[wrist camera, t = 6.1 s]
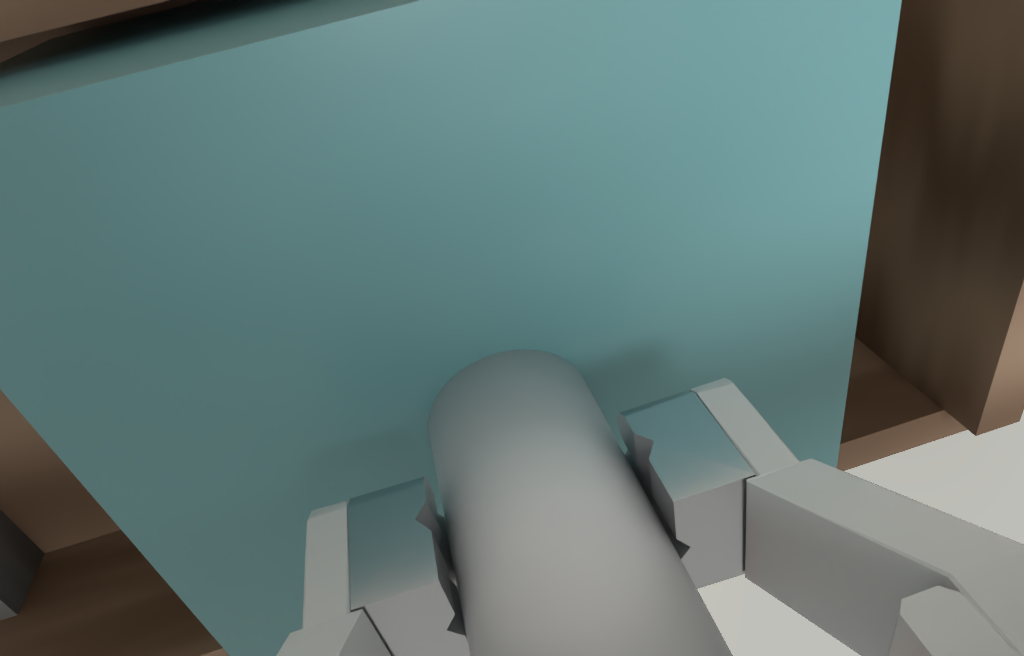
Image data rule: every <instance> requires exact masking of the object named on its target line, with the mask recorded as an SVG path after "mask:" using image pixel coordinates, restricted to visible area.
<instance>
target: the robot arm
mask: <svg viewBox="0 0 1024 656" xmlns="http://www.w3.org/2000/svg"><path fill="white" fill-rule="evenodd" d="M618 425H619V433H620V436H621V438H622V439H623V441H624V443H625V445H626V447H627V449H628V450H627V452H626V453H625V456H626V458H627V460H628V462H629V464H630V466H631V468H632V469H633V471H634V473H635V475H636V477H637V479H638V481H639V482H640V484H641V486H642V488H643V490H644V492H645V494H646V495H647V497H648V499H649V501H650V503H651V505H652V507H653V508H654V510H655V512H656V514H657V516H658V518H659V520H660V521H661V523H662V525H663V527H664V529H665V531H666V533H667V535H668V536H669V538H670V540H671V542H672V544H673V546H674V548H675V549H676V551H677V553H678V555H679V557H680V559H681V561H682V562H683V564H684V566H685V568H686V570H687V572H688V574H689V575H690V577H691V579H692V581H693V583H694V585H695V587H696V588H697V589H698V588H701V587H704V586H707V585H711V584H714V583H717V582H720V581H723V580H726V579H729V578H733V577H736V576H739V575H742V574H745V577H746V578H747V579H749V580H750V581H752V582H753V583H755V584H756V585H758V586H759V587H761V588H762V589H764V590H765V591H767V592H768V593H769V594H771V595H772V596H774V597H775V598H777V599H778V600H780V601H781V602H783V603H784V604H786V605H787V606H789V607H790V608H792V609H793V610H795V611H796V612H798V613H799V614H801V615H802V616H804V617H805V618H806V619H808V620H809V621H811V622H812V623H814V624H815V625H817V626H818V627H820V628H821V629H823V630H824V631H826V632H827V633H829V634H831V635H832V636H833V637H835V638H836V639H837V640H839V641H840V642H842V643H843V644H845V645H847V646H848V647H849V648H851V649H853V650H854V651H855V652H857V653H858V654H860V655H861V656H1024V544H1021V543H1019V542H1016V541H1013V540H1011V539H1009V538H1006V537H1004V536H1001V535H999V534H996V533H994V532H992V531H989V530H987V529H984V528H982V527H979V526H977V525H974V524H972V523H969V522H967V521H965V520H962V519H960V518H957V517H955V516H952V515H950V514H947V513H945V512H942V511H940V510H938V509H935V508H932V507H930V506H928V505H925V504H923V503H920V502H918V501H915V500H913V499H910V498H908V497H906V496H903V495H901V494H898V493H896V492H893V491H891V490H888V489H886V488H883V487H881V486H879V485H876V484H874V483H871V482H869V481H866V480H863V479H861V478H859V477H857V476H854V475H851V474H849V473H847V472H844V471H842V470H839V469H837V468H834V467H832V466H829V465H827V464H825V463H822V462H820V461H817V460H815V459H812V458H810V459H807V460H804V461H799V460H798V458H797V457H796V456H795V455H794V454H793V453H792V451H791V450H790V449H789V448H788V447H787V445H786V444H785V443H784V442H783V441H782V440H781V438H780V437H779V436H778V435H777V434H776V432H775V431H774V430H773V429H772V428H771V427H770V425H769V424H768V423H767V422H766V421H765V419H764V418H763V417H762V416H761V415H760V414H759V412H758V411H757V410H756V409H755V408H754V406H753V405H752V404H751V403H750V402H749V401H748V399H747V398H746V397H745V396H744V395H743V394H742V392H741V391H740V390H739V389H738V388H737V386H736V385H735V384H734V383H733V382H732V381H731V380H729V379H726V378H722V379H719V380H716V381H713V382H710V383H707V384H704V385H701V386H698V387H695V388H692V389H690V390H689V391H683V392H680V393H677V394H674V395H671V396H668V397H665V398H662V399H659V400H656V401H653V402H650V403H647V404H644V405H641V406H638V407H635V408H632V409H629V410H626V411H623V412H620V413H619V415H618ZM276 656H470V651H469V646H468V640H467V635H466V630H465V624H464V619H463V614H462V608H461V603H460V598H459V592H458V587H457V582H456V577H455V571H454V566H453V561H452V555H451V550H450V545H449V539H448V534H447V529H446V523H445V519H444V517H443V516H442V515H440V514H438V513H437V507H436V502H435V496H434V493H433V491H432V489H431V486H430V484H429V482H428V480H427V478H426V477H421V478H418V479H414V480H411V481H407V482H404V483H401V484H397V485H394V486H391V487H387V488H384V489H380V490H377V491H374V492H370V493H367V494H364V495H360V496H357V497H353V498H350V500H346V501H343V502H339V503H336V504H333V505H329V506H326V507H322V508H319V509H316V510H312V511H311V513H310V515H309V518H308V520H307V525H306V550H305V575H304V599H303V624H302V629H300V630H297V631H294V632H292V633H290V634H289V636H288V637H287V639H286V641H285V642H284V644H283V645H282V647H281V649H280V650H279V652H278V654H277V655H276Z"/></svg>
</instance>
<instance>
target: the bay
mask: <svg viewBox="0 0 1024 656" xmlns="http://www.w3.org/2000/svg"><path fill="white" fill-rule="evenodd" d="M200 1H204V0H0V63H1V62H3V61H5V60H7V59H10V58H12V57H14V56H16V55H18V54H20V53H22V52H24V51H26V50H28V49H30V48H33V47H35V46H37V45H39V44H41V43H43V42H45V41H47V40H49V39H51V38H55V37H59V36H63V35H67V34H71V33H75V32H79V31H83V30H87V29H91V28H95V27H99V26H103V25H107V24H111V23H115V22H119V21H123V20H127V19H131V18H135V17H139V16H143V15H147V14H151V13H155V12H159V11H163V10H168V9H172V8H176V7H180V6H184V5H188V4H192V3H196V2H200ZM1023 410H1024V0H902V3H901V10H900V17H899V24H898V31H897V38H896V46H895V53H894V60H893V67H892V74H891V82H890V89H889V96H888V103H887V110H886V118H885V125H884V132H883V139H882V146H881V153H880V161H879V168H878V175H877V182H876V189H875V197H874V204H873V211H872V218H871V225H870V233H869V240H868V247H867V254H866V261H865V268H864V276H863V283H862V290H861V297H860V304H859V312H858V319H857V326H856V333H855V340H854V347H853V355H852V362H851V369H850V376H849V383H848V391H847V398H846V405H845V412H844V419H843V427H842V434H841V441H840V448H839V455H838V462H837V469H839V470H842V471H845V470H848V469H851V468H854V467H857V466H860V465H863V464H866V463H869V462H872V461H875V460H878V459H881V458H884V457H887V456H890V455H893V454H896V453H899V452H902V451H905V450H908V449H911V448H914V447H917V446H920V445H923V444H926V443H928V442H932V441H935V440H937V439H940V438H944V437H947V436H950V435H953V434H956V433H959V432H961V431H965V430H969V431H970V432H972V433H973V434H974V435H975V436H977V435H980V434H982V433H986V432H989V431H991V430H994V429H997V428H1000V427H1004V426H1007V425H1010V424H1013V423H1015V422H1018V421H1020V418H1021V415H1022V412H1023ZM0 656H229V654H228V653H227V652H226V651H225V650H224V649H223V647H222V646H221V645H220V644H219V643H218V642H217V640H216V639H215V638H214V637H213V636H212V635H211V633H210V632H209V631H208V630H207V629H206V628H205V626H204V625H203V624H202V623H201V622H200V621H199V619H198V618H197V617H196V616H195V615H194V614H193V613H192V611H191V610H190V609H189V608H188V607H187V606H186V604H185V603H184V602H183V601H182V600H181V599H180V597H179V596H178V595H177V594H176V593H175V592H174V590H173V589H172V588H171V587H170V586H169V585H168V583H167V582H166V581H165V580H164V579H163V578H162V577H161V575H160V574H159V573H158V572H157V571H156V570H155V568H154V567H153V566H152V565H151V564H150V563H149V561H148V560H147V559H146V558H145V557H144V556H143V554H142V553H141V552H140V551H139V550H138V549H137V547H136V546H135V545H134V544H133V543H132V542H131V540H130V539H129V538H128V537H127V536H126V535H125V534H124V532H123V531H122V530H121V529H120V528H119V527H118V525H117V524H116V523H115V522H114V521H113V520H112V518H111V517H110V516H109V515H108V514H107V513H106V511H105V510H104V509H103V508H102V507H101V506H100V504H99V503H98V502H97V501H96V500H95V499H94V497H93V496H92V495H91V494H90V493H89V492H88V491H87V489H86V488H85V487H84V486H83V485H82V484H81V482H80V481H79V480H78V479H77V478H76V477H75V475H74V474H73V473H72V472H71V471H70V470H69V468H68V467H67V466H66V465H65V464H64V463H63V461H62V460H61V459H60V458H59V457H58V456H57V454H56V453H55V452H54V451H53V450H52V449H51V448H50V446H49V445H48V444H47V443H46V442H45V441H44V439H43V438H42V437H41V436H40V435H39V434H38V432H37V431H36V430H35V429H34V428H33V427H32V425H31V424H30V423H29V422H28V421H27V420H26V418H25V417H24V416H23V415H22V414H21V413H20V411H19V410H18V409H17V408H16V407H15V406H14V405H13V403H12V402H11V401H10V400H9V399H8V398H7V396H6V395H5V394H4V393H3V392H2V391H1V389H0Z"/></svg>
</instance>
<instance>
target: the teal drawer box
mask: <svg viewBox="0 0 1024 656" xmlns="http://www.w3.org/2000/svg"><path fill="white" fill-rule="evenodd" d="M901 3H902V0H204V1H200V2H196V3H192V4H188V5H184V6H180V7H176V8H172V9H168V10H163V11H159V12H155V13H151V14H147V15H143V16H139V17H135V18H131V19H127V20H123V21H119V22H115V23H111V24H107V25H103V26H99V27H95V28H91V29H87V30H83V31H79V32H75V33H71V34H67V35H63V36H59V37H55V38H51V39H49V40H47V41H45V42H43V43H41V44H39V45H37V46H35V47H33V48H30V49H28V50H26V51H24V52H22V53H20V54H18V55H16V56H14V57H12V58H10V59H7V60H5V61H3V62H1V63H0V389H1V391H2V392H3V393H4V394H5V395H6V396H7V398H8V399H9V400H10V401H11V402H12V403H13V405H14V406H15V407H16V408H17V409H18V410H19V411H20V413H21V414H22V415H23V416H24V417H25V418H26V420H27V421H28V422H29V423H30V424H31V425H32V427H33V428H34V429H35V430H36V431H37V432H38V434H39V435H40V436H41V437H42V438H43V439H44V441H45V442H46V443H47V444H48V445H49V446H50V448H51V449H52V450H53V451H54V452H55V453H56V454H57V456H58V457H59V458H60V459H61V460H62V461H63V463H64V464H65V465H66V466H67V467H68V468H69V470H70V471H71V472H72V473H73V474H74V475H75V477H76V478H77V479H78V480H79V481H80V482H81V484H82V485H83V486H84V487H85V488H86V489H87V491H88V492H89V493H90V494H91V495H92V496H93V497H94V499H95V500H96V501H97V502H98V503H99V504H100V506H101V507H102V508H103V509H104V510H105V511H106V513H107V514H108V515H109V516H110V517H111V518H112V520H113V521H114V522H115V523H116V524H117V525H118V527H119V528H120V529H121V530H122V531H123V532H124V534H125V535H126V536H127V537H128V538H129V539H130V540H131V542H132V543H133V544H134V545H135V546H136V547H137V549H138V550H139V551H140V552H141V553H142V554H143V556H144V557H145V558H146V559H147V560H148V561H149V563H150V564H151V565H152V566H153V567H154V568H155V570H156V571H157V572H158V573H159V574H160V575H161V577H162V578H163V579H164V580H165V581H166V582H167V583H168V585H169V586H170V587H171V588H172V589H173V590H174V592H175V593H176V594H177V595H178V596H179V597H180V599H181V600H182V601H183V602H184V603H185V604H186V606H187V607H188V608H189V609H190V610H191V611H192V613H193V614H194V615H195V616H196V617H197V618H198V619H199V621H200V622H201V623H202V624H203V625H204V626H205V628H206V629H207V630H208V631H209V632H210V633H211V635H212V636H213V637H214V638H215V639H216V640H217V642H218V643H219V644H220V645H221V646H222V647H223V649H224V650H225V651H226V652H227V653H228V654H229V656H276V655H277V654H278V652H279V650H280V649H281V647H282V645H283V644H284V642H285V641H286V639H287V637H288V636H289V634H290V633H292V632H294V631H297V630H300V629H302V624H303V599H304V575H305V550H306V525H307V520H308V518H309V515H310V513H311V511H312V510H316V509H319V508H322V507H326V506H329V505H333V504H336V503H339V502H343V501H346V500H350V498H353V497H357V496H360V495H364V494H367V493H370V492H374V491H377V490H380V489H384V488H387V487H391V486H394V485H397V484H401V483H404V482H407V481H411V480H414V479H418V478H421V477H426V478H427V480H428V482H429V484H430V486H431V489H432V491H433V493H434V496H435V502H436V507H437V513H438V514H440V515H442V516H443V517H444V519H445V523H446V529H447V534H448V539H449V545H450V550H451V555H452V561H453V566H454V571H455V577H456V582H457V587H458V592H459V598H460V603H461V608H462V614H463V619H464V624H465V630H466V635H467V640H468V646H469V651H470V656H733V655H732V654H731V652H730V650H729V648H728V646H727V644H726V642H725V641H724V639H723V637H722V635H721V633H720V631H719V630H718V628H717V626H716V624H715V622H714V620H713V618H712V617H711V615H710V613H709V611H708V609H707V607H706V605H705V604H704V602H703V600H702V598H701V596H700V594H699V592H698V590H697V588H696V587H695V585H694V583H693V581H692V579H691V577H690V575H689V574H688V572H687V570H686V568H685V566H684V564H683V562H682V561H681V559H680V557H679V555H678V553H677V551H676V549H675V548H674V546H673V544H672V542H671V540H670V538H669V536H668V535H667V533H666V531H665V529H664V527H663V525H662V523H661V521H660V520H659V518H658V516H657V514H656V512H655V510H654V508H653V507H652V505H651V503H650V501H649V499H648V497H647V495H646V494H645V492H644V490H643V488H642V486H641V484H640V482H639V481H638V479H637V477H636V475H635V473H634V471H633V469H632V468H631V466H630V464H629V462H628V460H627V458H626V456H625V453H626V452H627V450H628V449H627V447H626V445H625V443H624V441H623V439H622V438H621V436H620V433H619V425H618V415H619V413H620V412H623V411H626V410H629V409H632V408H635V407H638V406H641V405H644V404H647V403H650V402H653V401H656V400H659V399H662V398H665V397H668V396H671V395H674V394H677V393H680V392H683V391H689V390H690V389H692V388H695V387H698V386H701V385H704V384H707V383H710V382H713V381H716V380H719V379H722V378H726V379H729V380H731V381H732V382H733V383H734V384H735V385H736V386H737V388H738V389H739V390H740V391H741V392H742V394H743V395H744V396H745V397H746V398H747V399H748V401H749V402H750V403H751V404H752V405H753V406H754V408H755V409H756V410H757V411H758V412H759V414H760V415H761V416H762V417H763V418H764V419H765V421H766V422H767V423H768V424H769V425H770V427H771V428H772V429H773V430H774V431H775V432H776V434H777V435H778V436H779V437H780V438H781V440H782V441H783V442H784V443H785V444H786V445H787V447H788V448H789V449H790V450H791V451H792V453H793V454H794V455H795V456H796V457H797V458H798V460H799V461H804V460H807V459H810V458H812V459H815V460H817V461H820V462H822V463H825V464H827V465H829V466H832V467H834V468H837V462H838V455H839V448H840V441H841V434H842V427H843V419H844V412H845V405H846V398H847V391H848V383H849V376H850V369H851V362H852V355H853V347H854V340H855V333H856V326H857V319H858V312H859V304H860V297H861V290H862V283H863V276H864V268H865V261H866V254H867V247H868V240H869V233H870V225H871V218H872V211H873V204H874V197H875V189H876V182H877V175H878V168H879V161H880V153H881V146H882V139H883V132H884V125H885V118H886V110H887V103H888V96H889V89H890V82H891V74H892V67H893V60H894V53H895V46H896V38H897V31H898V24H899V17H900V10H901Z"/></svg>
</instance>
